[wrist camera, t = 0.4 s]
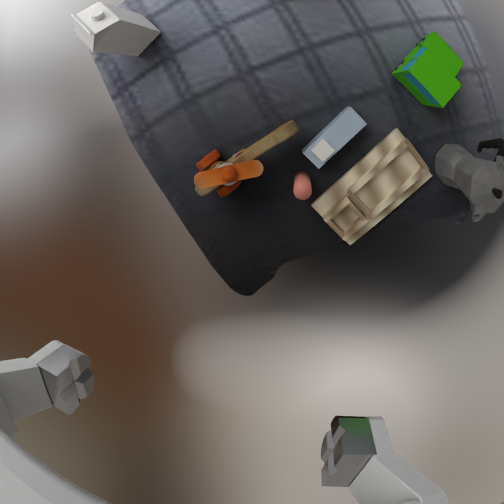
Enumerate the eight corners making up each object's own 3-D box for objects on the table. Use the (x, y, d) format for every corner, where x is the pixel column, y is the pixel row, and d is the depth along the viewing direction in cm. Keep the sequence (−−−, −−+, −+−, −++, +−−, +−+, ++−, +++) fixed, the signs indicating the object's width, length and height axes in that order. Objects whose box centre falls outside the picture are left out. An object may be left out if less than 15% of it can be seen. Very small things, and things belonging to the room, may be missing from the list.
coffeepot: (455, 199, 48) (498, 240, 33) (423, 183, 48) (464, 221, 33) (479, 136, 40) (532, 159, 25) (447, 116, 40) (500, 130, 25)
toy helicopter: (196, 163, 54) (167, 184, 43) (282, 103, 46) (277, 104, 34) (220, 195, 57) (199, 224, 45) (308, 139, 49) (311, 152, 37)
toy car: (457, 67, 34) (483, 66, 26) (423, 108, 41) (446, 112, 32) (421, 29, 32) (443, 20, 24) (385, 70, 39) (403, 65, 30)
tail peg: (302, 167, 51) (302, 179, 45) (313, 178, 52) (315, 191, 45) (291, 178, 53) (289, 191, 46) (302, 188, 54) (302, 203, 47)
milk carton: (138, 57, 43) (76, 52, 27) (120, 39, 41) (58, 31, 25) (162, 32, 40) (105, 15, 24) (143, 15, 38) (84, -3, 22)
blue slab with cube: (347, 106, 44) (351, 107, 40) (362, 122, 45) (368, 124, 41) (302, 149, 50) (302, 154, 46) (317, 163, 51) (319, 170, 47)
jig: (396, 127, 44) (402, 130, 41) (430, 174, 47) (437, 179, 44) (311, 204, 55) (311, 210, 52) (349, 243, 58) (351, 251, 55)
